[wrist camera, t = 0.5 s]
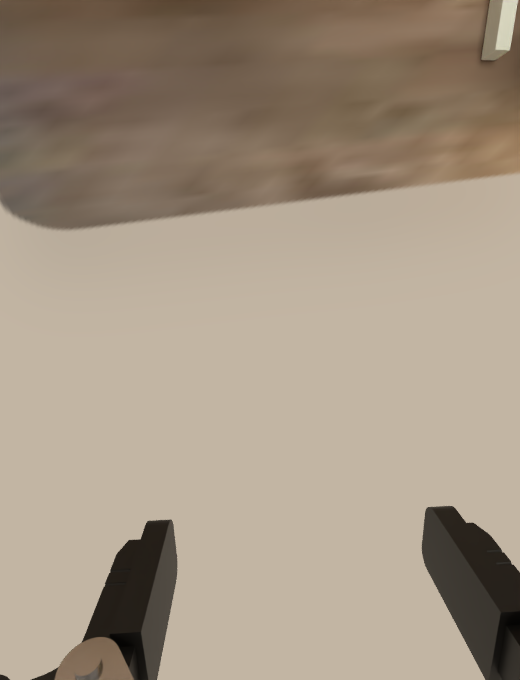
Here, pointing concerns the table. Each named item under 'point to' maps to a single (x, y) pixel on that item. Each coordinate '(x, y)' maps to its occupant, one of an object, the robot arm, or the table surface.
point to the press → (499, 28)
